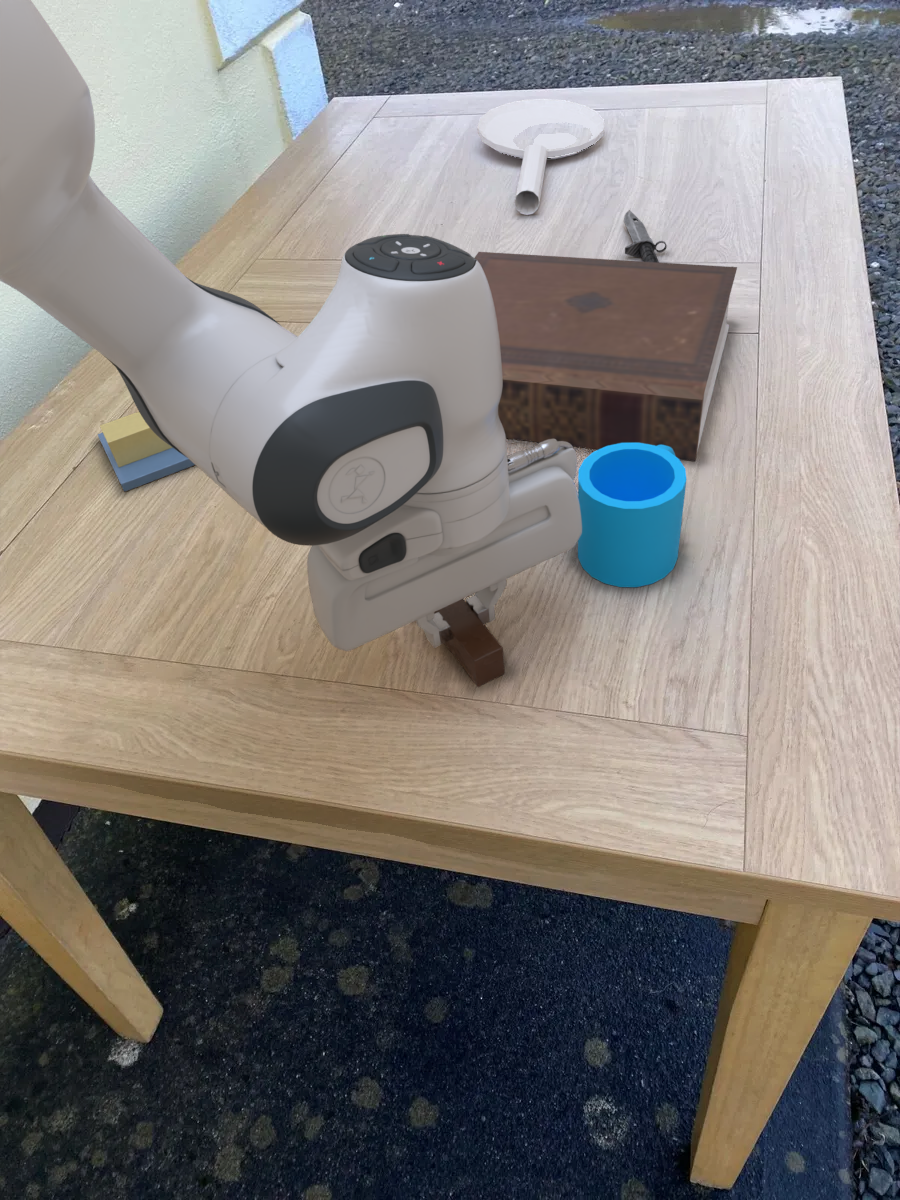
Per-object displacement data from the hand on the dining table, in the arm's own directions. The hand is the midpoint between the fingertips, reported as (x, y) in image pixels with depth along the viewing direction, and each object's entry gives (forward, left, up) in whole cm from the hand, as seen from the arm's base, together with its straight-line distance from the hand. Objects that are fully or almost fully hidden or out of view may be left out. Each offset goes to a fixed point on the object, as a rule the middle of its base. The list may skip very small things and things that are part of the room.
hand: (459, 628), depth 69 cm
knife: (+50, +44, -2) cm, 67 cm away
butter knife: (0, +5, -2) cm, 6 cm away
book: (+28, +26, -2) cm, 38 cm away
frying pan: (+55, +76, -2) cm, 94 cm away
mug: (+18, +2, -2) cm, 18 cm away
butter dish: (-11, +40, -2) cm, 42 cm away
